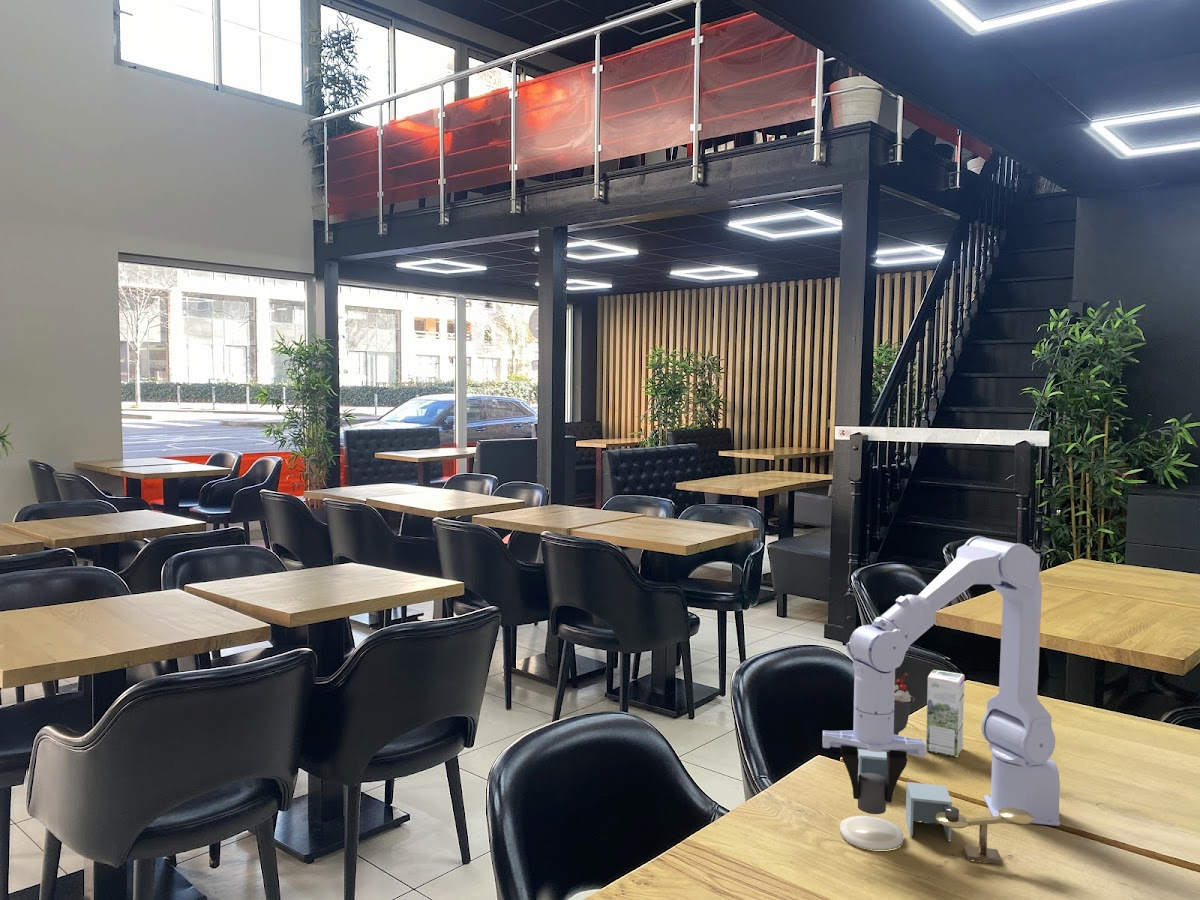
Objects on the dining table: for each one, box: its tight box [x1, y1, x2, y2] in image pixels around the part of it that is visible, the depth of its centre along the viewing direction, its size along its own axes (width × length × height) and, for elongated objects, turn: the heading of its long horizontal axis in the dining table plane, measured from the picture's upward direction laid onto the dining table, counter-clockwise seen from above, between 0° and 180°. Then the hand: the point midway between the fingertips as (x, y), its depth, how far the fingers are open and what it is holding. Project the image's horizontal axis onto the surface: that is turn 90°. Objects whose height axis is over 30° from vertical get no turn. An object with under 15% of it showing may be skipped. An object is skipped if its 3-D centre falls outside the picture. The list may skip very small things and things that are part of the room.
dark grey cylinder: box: [857, 773, 887, 815], centre depth 127 cm, size 4×4×4 cm
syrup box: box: [925, 669, 965, 757], centre depth 160 cm, size 6×6×14 cm
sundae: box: [894, 672, 916, 735], centre depth 161 cm, size 7×7×15 cm
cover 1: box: [858, 749, 896, 795], centre depth 145 cm, size 6×6×6 cm
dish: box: [839, 815, 904, 850], centre depth 127 cm, size 9×9×1 cm
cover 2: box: [905, 781, 953, 842], centre depth 129 cm, size 6×6×6 cm
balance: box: [936, 806, 1033, 866], centre depth 121 cm, size 13×4×7 cm, turn 77°
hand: (871, 798), depth 127 cm, fingers closed on dark grey cylinder, 4 cm apart
